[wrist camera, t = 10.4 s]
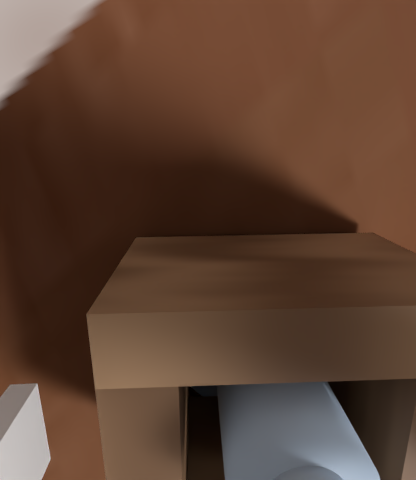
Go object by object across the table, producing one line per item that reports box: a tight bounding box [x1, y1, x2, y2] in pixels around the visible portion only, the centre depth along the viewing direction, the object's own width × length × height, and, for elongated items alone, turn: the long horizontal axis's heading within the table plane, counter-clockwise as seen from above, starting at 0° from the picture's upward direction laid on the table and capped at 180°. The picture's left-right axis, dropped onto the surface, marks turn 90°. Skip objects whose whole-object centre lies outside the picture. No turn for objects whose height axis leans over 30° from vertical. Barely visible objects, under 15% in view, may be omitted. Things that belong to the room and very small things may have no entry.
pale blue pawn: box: [190, 382, 380, 480], centre depth 10 cm, size 7×7×9 cm
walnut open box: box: [86, 233, 416, 480], centre depth 11 cm, size 9×9×6 cm
